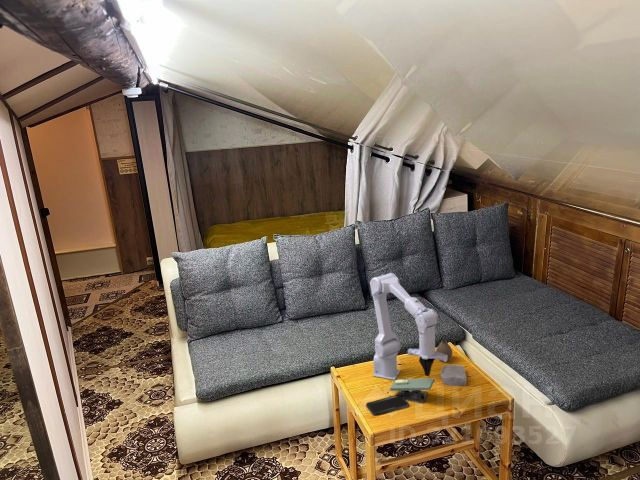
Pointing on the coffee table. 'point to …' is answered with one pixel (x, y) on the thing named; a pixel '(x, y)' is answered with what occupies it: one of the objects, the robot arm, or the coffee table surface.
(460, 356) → the coffee table surface
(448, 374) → the stone block
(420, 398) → the tribrach base
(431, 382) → the plate
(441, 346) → the vase
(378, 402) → the phone
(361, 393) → the coffee table surface
